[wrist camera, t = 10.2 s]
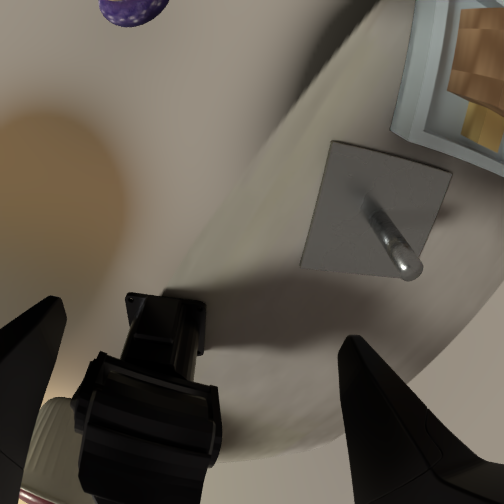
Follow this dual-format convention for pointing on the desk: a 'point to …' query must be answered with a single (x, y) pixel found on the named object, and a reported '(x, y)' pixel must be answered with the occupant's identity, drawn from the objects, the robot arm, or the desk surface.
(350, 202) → the grey peg stand
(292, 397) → the desk surface
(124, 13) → the toy lamp
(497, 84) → the wooden block with hole
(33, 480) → the canister
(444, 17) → the tray
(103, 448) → the robot arm
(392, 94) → the desk surface
